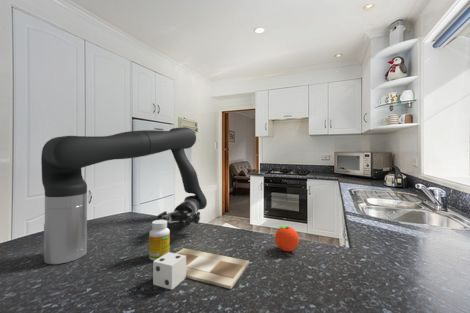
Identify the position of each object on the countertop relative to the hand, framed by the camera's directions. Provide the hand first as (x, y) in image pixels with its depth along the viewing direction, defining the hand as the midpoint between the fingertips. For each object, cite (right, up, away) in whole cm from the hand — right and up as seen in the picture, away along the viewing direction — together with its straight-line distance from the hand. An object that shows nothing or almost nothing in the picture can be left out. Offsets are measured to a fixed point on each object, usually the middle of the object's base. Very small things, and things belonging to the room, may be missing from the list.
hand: (173, 223), depth 71 cm
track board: (+12, -6, -16) cm, 21 cm away
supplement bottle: (-1, -6, -10) cm, 12 cm away
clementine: (+35, -6, -6) cm, 36 cm away
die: (+6, -6, -22) cm, 24 cm away
